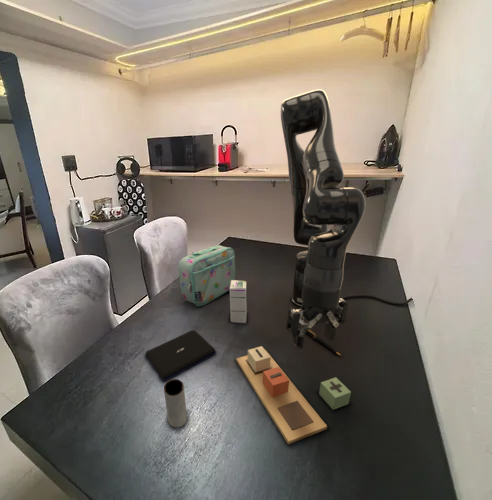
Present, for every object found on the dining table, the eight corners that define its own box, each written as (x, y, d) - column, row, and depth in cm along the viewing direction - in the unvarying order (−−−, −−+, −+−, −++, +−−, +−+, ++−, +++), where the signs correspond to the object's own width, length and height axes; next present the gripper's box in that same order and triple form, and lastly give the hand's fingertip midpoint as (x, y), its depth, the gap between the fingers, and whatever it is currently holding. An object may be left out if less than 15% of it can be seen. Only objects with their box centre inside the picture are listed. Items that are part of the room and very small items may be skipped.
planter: (167, 410, 65) (163, 379, 61) (186, 408, 65) (183, 377, 61) (168, 429, 61) (163, 397, 57) (187, 426, 61) (184, 394, 57)
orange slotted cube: (277, 377, 71) (278, 366, 69) (288, 391, 67) (289, 379, 65) (262, 382, 70) (263, 370, 68) (272, 397, 65) (273, 384, 64)
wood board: (265, 352, 81) (265, 349, 80) (326, 429, 58) (327, 425, 58) (235, 360, 78) (235, 357, 78) (288, 444, 56) (288, 441, 56)
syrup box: (246, 323, 94) (247, 288, 89) (229, 322, 95) (229, 287, 90) (246, 314, 99) (247, 280, 94) (230, 313, 101) (230, 279, 95)
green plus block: (333, 388, 68) (336, 376, 66) (348, 404, 64) (351, 391, 62) (318, 393, 67) (320, 381, 65) (332, 410, 62) (335, 397, 61)
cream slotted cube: (261, 356, 78) (261, 345, 76) (269, 368, 74) (270, 356, 72) (247, 360, 77) (247, 349, 75) (255, 372, 72) (255, 360, 71)
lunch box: (194, 313, 102) (191, 263, 94) (178, 303, 109) (173, 256, 101) (238, 287, 118) (238, 243, 110) (221, 280, 125) (220, 238, 117)
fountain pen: (342, 357, 77) (343, 353, 77) (339, 358, 77) (340, 354, 76) (303, 329, 89) (304, 325, 89) (301, 330, 89) (301, 327, 88)
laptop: (143, 348, 86) (142, 343, 85) (198, 330, 93) (198, 325, 92) (157, 385, 72) (156, 380, 71) (220, 360, 79) (220, 355, 78)
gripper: (305, 296, 52) (297, 360, 58) (363, 283, 55) (351, 345, 61) (282, 280, 58) (278, 338, 64) (336, 269, 62) (327, 326, 68)
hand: (313, 342), depth 63 cm, fingers open, 8 cm apart
